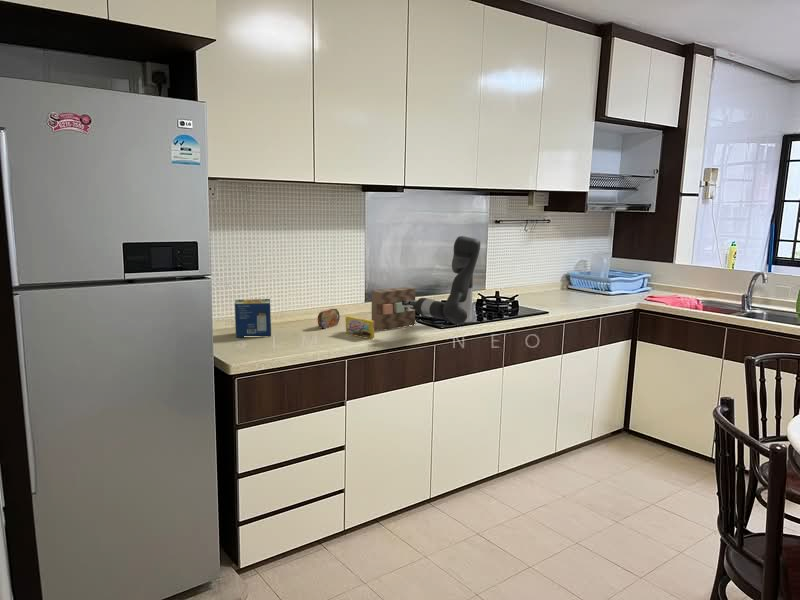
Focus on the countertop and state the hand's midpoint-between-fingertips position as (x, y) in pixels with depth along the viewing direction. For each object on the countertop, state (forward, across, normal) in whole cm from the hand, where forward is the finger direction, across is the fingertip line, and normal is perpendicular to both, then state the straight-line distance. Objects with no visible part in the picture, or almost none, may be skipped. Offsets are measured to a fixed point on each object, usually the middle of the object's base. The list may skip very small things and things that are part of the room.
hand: (403, 302), depth 265 cm
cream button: (+12, -14, +7) cm, 20 cm away
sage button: (+12, -7, +7) cm, 16 cm away
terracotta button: (+12, 0, +7) cm, 14 cm away
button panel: (+16, -7, +15) cm, 23 cm away
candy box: (+9, +17, +15) cm, 25 cm away
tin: (+34, +18, +15) cm, 42 cm away
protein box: (+40, +54, +15) cm, 69 cm away
